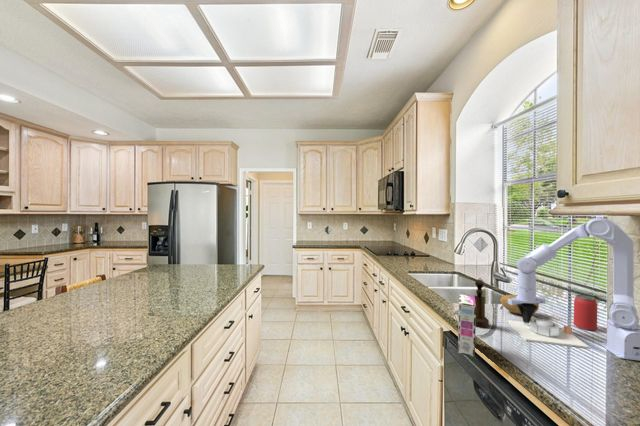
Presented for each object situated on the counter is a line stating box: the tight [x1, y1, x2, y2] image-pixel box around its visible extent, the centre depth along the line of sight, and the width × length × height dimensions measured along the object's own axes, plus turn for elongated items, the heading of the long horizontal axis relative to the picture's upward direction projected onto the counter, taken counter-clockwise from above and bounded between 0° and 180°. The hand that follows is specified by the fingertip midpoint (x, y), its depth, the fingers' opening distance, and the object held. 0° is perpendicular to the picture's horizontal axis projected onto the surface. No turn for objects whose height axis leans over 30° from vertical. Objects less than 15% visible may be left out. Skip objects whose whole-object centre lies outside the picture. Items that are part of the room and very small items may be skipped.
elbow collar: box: [522, 315, 560, 337], centre depth 104 cm, size 13×8×3 cm, turn 3°
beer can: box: [573, 294, 598, 332], centre depth 107 cm, size 7×7×12 cm
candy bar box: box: [457, 293, 477, 358], centre depth 91 cm, size 11×5×16 cm, turn 152°
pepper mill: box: [474, 279, 490, 328], centre depth 109 cm, size 7×6×18 cm
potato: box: [499, 294, 540, 315], centre depth 121 cm, size 10×14×8 cm
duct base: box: [507, 318, 590, 349], centre depth 101 cm, size 17×18×5 cm
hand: (526, 322), depth 107 cm, fingers closed
